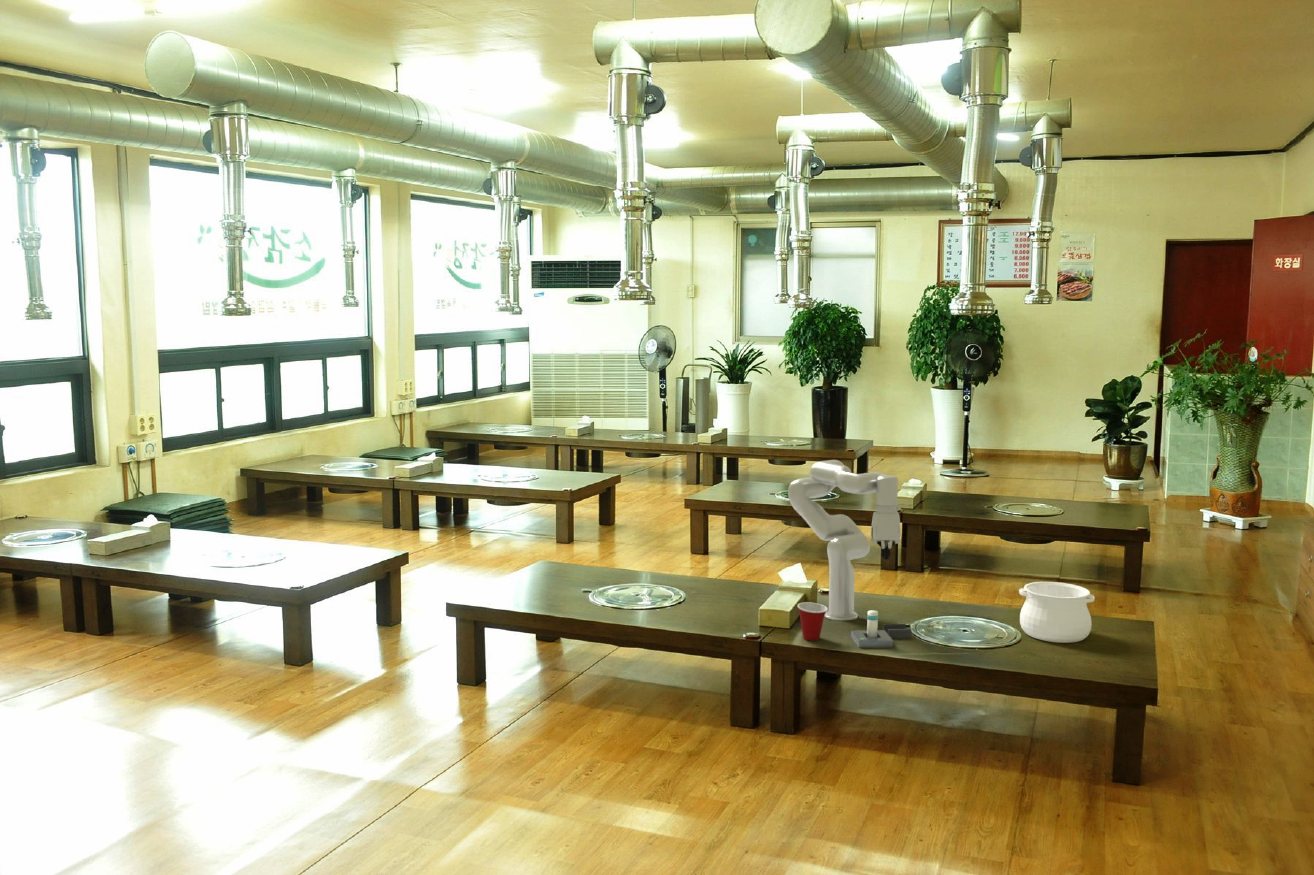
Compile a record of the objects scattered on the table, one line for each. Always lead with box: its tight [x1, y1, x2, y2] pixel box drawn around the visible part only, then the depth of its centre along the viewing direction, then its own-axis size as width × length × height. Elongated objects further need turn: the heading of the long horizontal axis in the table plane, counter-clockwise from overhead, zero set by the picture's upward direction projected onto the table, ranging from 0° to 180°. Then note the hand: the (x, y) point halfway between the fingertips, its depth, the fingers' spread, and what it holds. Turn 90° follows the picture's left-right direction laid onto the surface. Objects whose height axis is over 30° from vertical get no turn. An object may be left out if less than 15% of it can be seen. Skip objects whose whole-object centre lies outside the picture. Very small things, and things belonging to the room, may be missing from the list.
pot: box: [1018, 581, 1096, 644], centre depth 380 cm, size 26×24×17 cm
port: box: [850, 629, 894, 649], centre depth 370 cm, size 12×12×3 cm
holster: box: [882, 623, 912, 639], centre depth 378 cm, size 8×8×4 cm
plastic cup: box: [797, 601, 829, 642], centre depth 376 cm, size 11×11×12 cm
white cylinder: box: [866, 609, 879, 638], centre depth 370 cm, size 4×4×11 cm
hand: (885, 558), depth 382 cm, fingers closed
